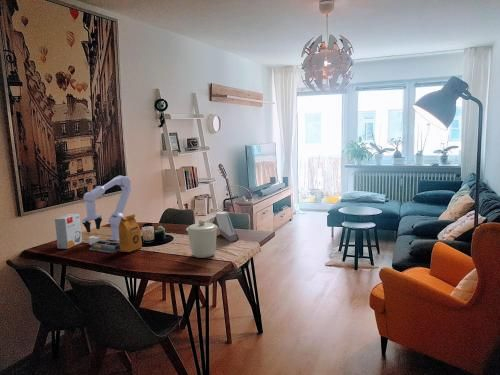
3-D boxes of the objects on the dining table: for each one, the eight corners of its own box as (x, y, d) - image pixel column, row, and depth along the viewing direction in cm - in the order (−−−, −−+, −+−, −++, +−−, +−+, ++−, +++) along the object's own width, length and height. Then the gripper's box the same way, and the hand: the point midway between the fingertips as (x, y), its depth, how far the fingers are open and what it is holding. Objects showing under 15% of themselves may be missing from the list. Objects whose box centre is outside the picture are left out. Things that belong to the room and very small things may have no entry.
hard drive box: (67, 249, 248) (64, 219, 245) (57, 248, 250) (53, 218, 246) (82, 241, 263) (79, 213, 260) (72, 241, 265) (69, 213, 261)
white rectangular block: (93, 243, 259) (92, 236, 258) (100, 244, 256) (99, 237, 255) (89, 244, 256) (88, 237, 255) (97, 245, 253) (96, 238, 252)
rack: (103, 244, 255) (103, 239, 254) (126, 247, 246) (126, 242, 245) (89, 249, 244) (88, 244, 244) (112, 253, 235) (111, 247, 235)
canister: (190, 262, 213) (187, 225, 210) (186, 252, 231) (183, 218, 227) (222, 257, 218) (220, 221, 215) (216, 248, 236) (214, 215, 232)
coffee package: (144, 248, 243) (141, 214, 239) (129, 254, 232) (125, 218, 229) (133, 246, 248) (130, 212, 245) (118, 251, 238) (114, 217, 234)
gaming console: (241, 240, 251) (233, 211, 246) (230, 244, 248) (223, 215, 244) (229, 231, 272) (222, 205, 267) (220, 235, 270) (212, 208, 265)
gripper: (95, 207, 260) (97, 227, 262) (77, 212, 247) (80, 233, 250) (103, 208, 257) (105, 228, 259) (85, 213, 244) (87, 234, 247)
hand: (93, 230), depth 254 cm, fingers open, 7 cm apart
